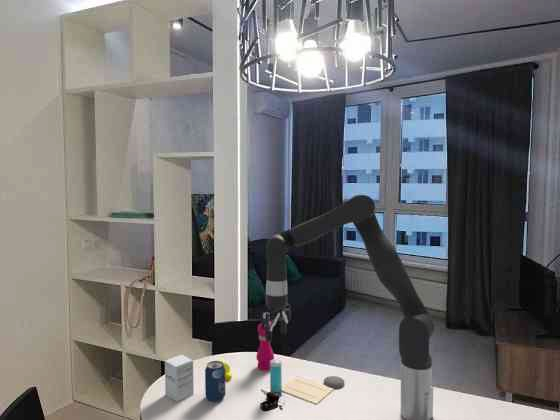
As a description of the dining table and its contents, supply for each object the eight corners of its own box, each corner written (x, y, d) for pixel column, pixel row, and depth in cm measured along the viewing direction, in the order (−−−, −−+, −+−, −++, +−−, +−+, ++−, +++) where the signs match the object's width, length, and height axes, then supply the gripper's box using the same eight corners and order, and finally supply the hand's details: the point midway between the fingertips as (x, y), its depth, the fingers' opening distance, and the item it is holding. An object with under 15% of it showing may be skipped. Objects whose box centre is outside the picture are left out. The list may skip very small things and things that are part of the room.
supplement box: (164, 394, 136) (163, 360, 136) (182, 386, 142) (182, 353, 141) (176, 402, 131) (175, 366, 131) (194, 394, 137) (193, 359, 136)
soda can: (224, 402, 131) (224, 368, 130) (204, 403, 131) (203, 369, 130) (226, 392, 138) (225, 359, 137) (206, 392, 138) (206, 360, 137)
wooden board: (333, 389, 139) (333, 388, 139) (316, 404, 130) (316, 403, 130) (297, 376, 149) (297, 375, 149) (278, 390, 139) (278, 389, 139)
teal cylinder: (283, 393, 137) (283, 361, 136) (277, 398, 133) (276, 365, 133) (274, 390, 139) (274, 358, 138) (268, 395, 136) (267, 362, 135)
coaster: (347, 382, 145) (347, 379, 144) (338, 390, 138) (338, 388, 138) (330, 376, 149) (330, 374, 149) (320, 384, 143) (320, 382, 143)
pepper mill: (273, 371, 153) (273, 322, 152) (255, 371, 153) (255, 322, 152) (274, 363, 160) (274, 316, 159) (257, 363, 161) (256, 316, 159)
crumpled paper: (215, 373, 152) (214, 354, 151) (233, 376, 150) (233, 356, 149) (208, 381, 146) (208, 361, 146) (228, 383, 144) (227, 363, 144)
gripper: (272, 298, 126) (272, 346, 127) (297, 289, 138) (296, 333, 139) (255, 294, 131) (255, 341, 132) (280, 286, 142) (280, 328, 143)
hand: (276, 337), depth 135 cm, fingers open, 8 cm apart
